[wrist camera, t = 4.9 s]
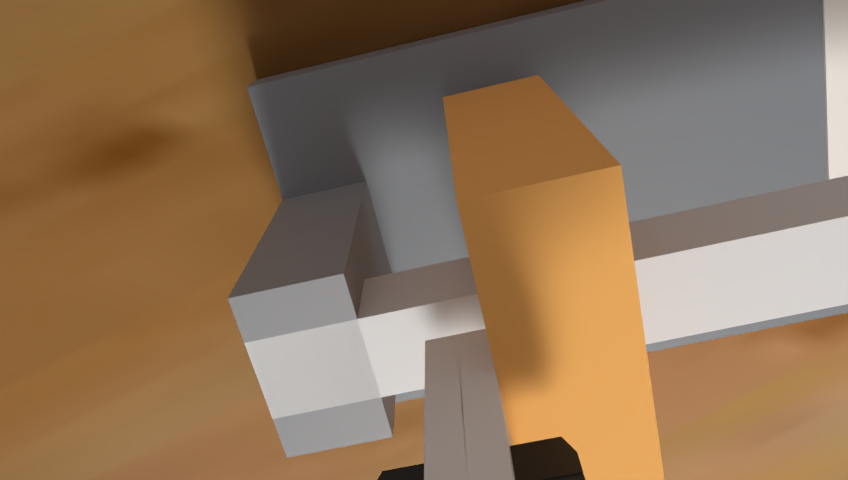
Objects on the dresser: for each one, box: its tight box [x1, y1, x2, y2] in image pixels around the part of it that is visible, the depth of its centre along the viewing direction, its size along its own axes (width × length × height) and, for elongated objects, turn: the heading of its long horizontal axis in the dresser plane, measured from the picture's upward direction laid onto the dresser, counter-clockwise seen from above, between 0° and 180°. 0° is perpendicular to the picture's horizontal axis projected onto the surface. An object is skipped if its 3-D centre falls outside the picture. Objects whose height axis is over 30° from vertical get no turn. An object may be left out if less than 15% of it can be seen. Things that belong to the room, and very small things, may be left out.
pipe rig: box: [228, 0, 848, 458], centre depth 22 cm, size 28×13×9 cm, turn 103°
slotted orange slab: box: [443, 75, 664, 480], centre depth 20 cm, size 3×10×10 cm, turn 13°
